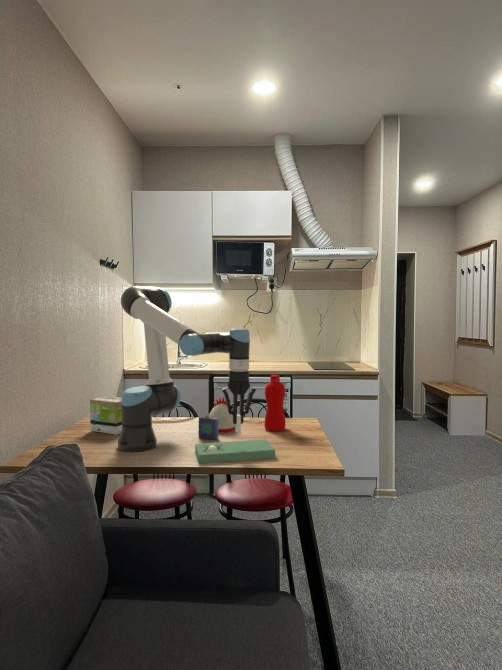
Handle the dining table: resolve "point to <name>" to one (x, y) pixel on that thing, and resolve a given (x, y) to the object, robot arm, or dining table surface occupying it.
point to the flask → (208, 428)
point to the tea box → (106, 415)
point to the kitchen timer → (222, 416)
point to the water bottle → (275, 404)
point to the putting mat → (234, 451)
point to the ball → (212, 448)
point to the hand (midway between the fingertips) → (237, 432)
